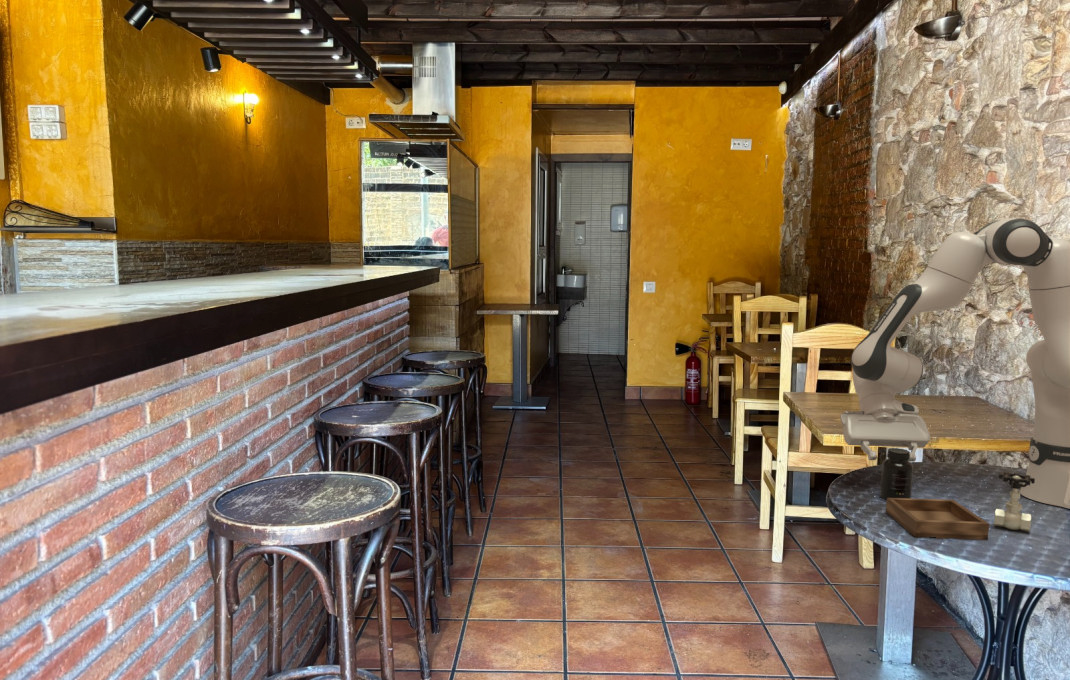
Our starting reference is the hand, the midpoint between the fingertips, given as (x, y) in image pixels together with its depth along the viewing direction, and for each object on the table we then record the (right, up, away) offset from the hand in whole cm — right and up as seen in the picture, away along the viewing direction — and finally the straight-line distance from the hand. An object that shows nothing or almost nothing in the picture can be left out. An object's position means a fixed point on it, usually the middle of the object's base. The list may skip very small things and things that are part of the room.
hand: (892, 459), depth 187 cm
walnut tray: (0, -11, -20) cm, 23 cm away
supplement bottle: (0, -9, -2) cm, 9 cm away
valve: (+16, -12, -21) cm, 29 cm away
